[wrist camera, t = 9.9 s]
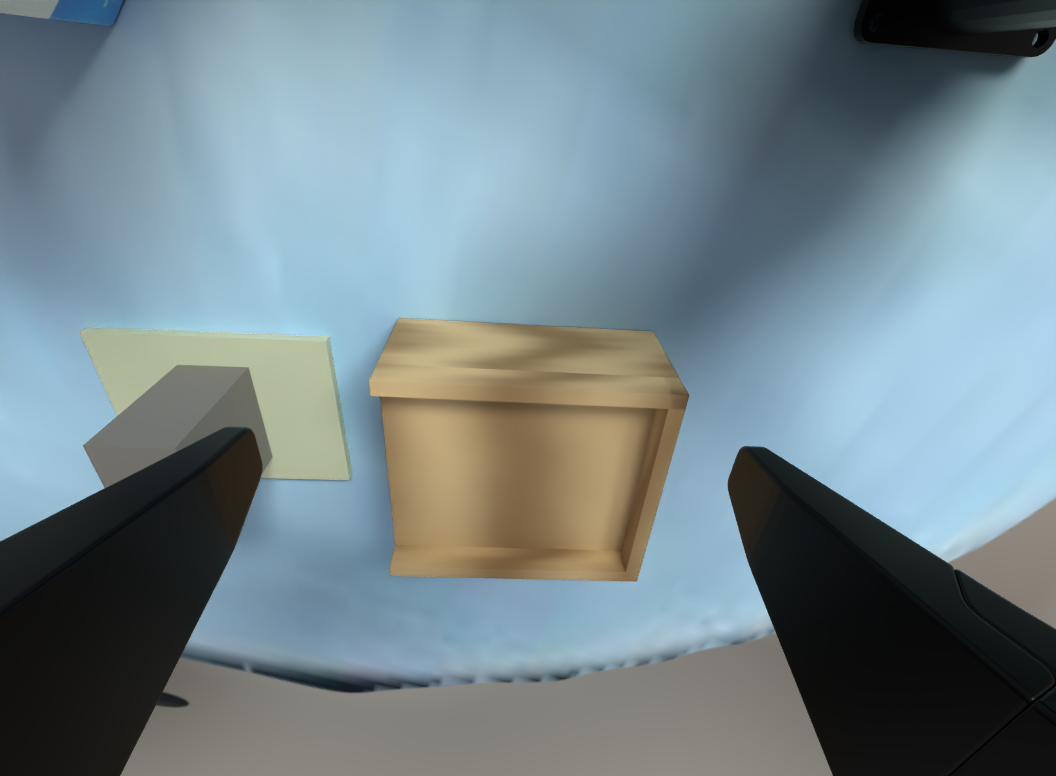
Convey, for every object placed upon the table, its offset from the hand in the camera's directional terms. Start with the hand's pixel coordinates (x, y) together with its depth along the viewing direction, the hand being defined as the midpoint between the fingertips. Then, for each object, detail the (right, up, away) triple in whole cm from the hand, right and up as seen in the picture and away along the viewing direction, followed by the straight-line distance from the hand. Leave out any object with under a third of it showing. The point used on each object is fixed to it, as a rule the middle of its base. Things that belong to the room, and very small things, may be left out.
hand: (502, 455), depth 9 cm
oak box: (0, 0, +15) cm, 15 cm away
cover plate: (-13, +1, +14) cm, 20 cm away
